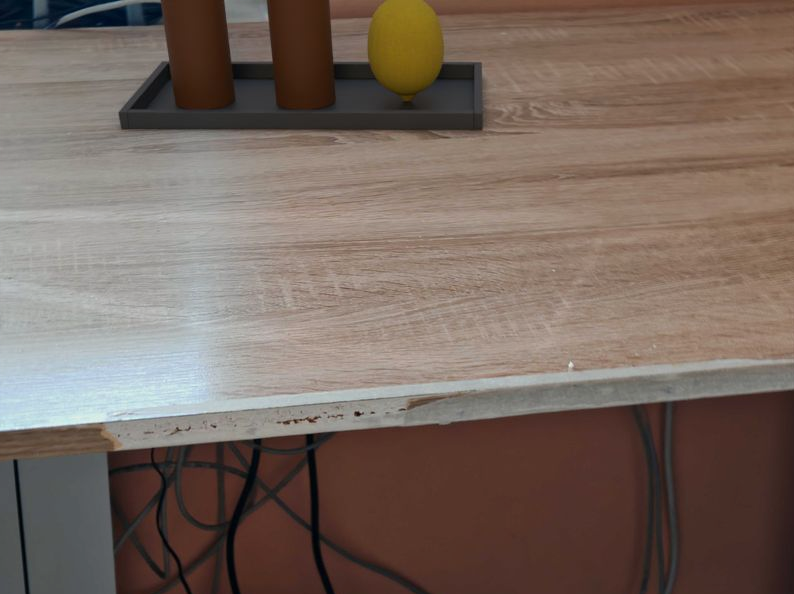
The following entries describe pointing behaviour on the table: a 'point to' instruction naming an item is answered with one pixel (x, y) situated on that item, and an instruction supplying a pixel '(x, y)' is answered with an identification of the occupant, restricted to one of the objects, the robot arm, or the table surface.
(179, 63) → the bottle
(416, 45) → the lemon
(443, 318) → the table surface
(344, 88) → the tray
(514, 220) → the table surface
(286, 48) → the bottle
